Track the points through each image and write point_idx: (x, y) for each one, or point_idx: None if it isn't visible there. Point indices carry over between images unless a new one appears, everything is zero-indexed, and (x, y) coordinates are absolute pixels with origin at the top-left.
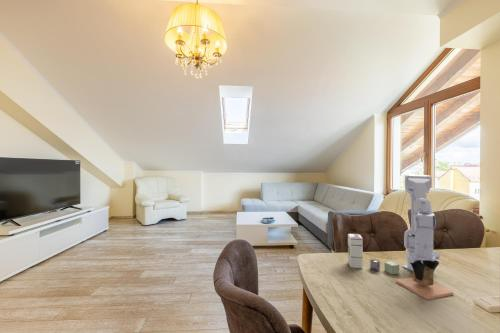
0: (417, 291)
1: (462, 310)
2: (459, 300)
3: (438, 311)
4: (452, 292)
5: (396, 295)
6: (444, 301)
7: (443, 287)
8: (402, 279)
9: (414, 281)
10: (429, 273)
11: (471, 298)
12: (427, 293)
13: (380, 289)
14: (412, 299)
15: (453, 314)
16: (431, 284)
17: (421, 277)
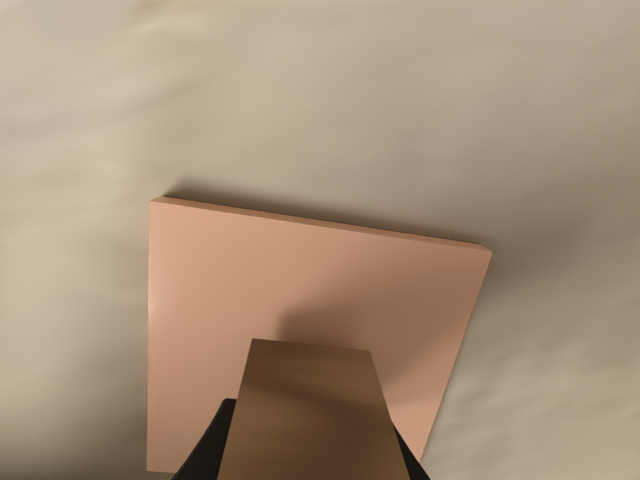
0: (461, 334)
1: (405, 5)
2: (222, 114)
3: (607, 106)
4: (164, 202)
5: (603, 365)
6: (377, 169)
7: (153, 287)
8: None
9: None
10: (310, 465)
11: (48, 76)
12: (425, 284)
13: (603, 443)
14: (570, 292)
15: (557, 14)
16: (278, 345)
17: (400, 441)
